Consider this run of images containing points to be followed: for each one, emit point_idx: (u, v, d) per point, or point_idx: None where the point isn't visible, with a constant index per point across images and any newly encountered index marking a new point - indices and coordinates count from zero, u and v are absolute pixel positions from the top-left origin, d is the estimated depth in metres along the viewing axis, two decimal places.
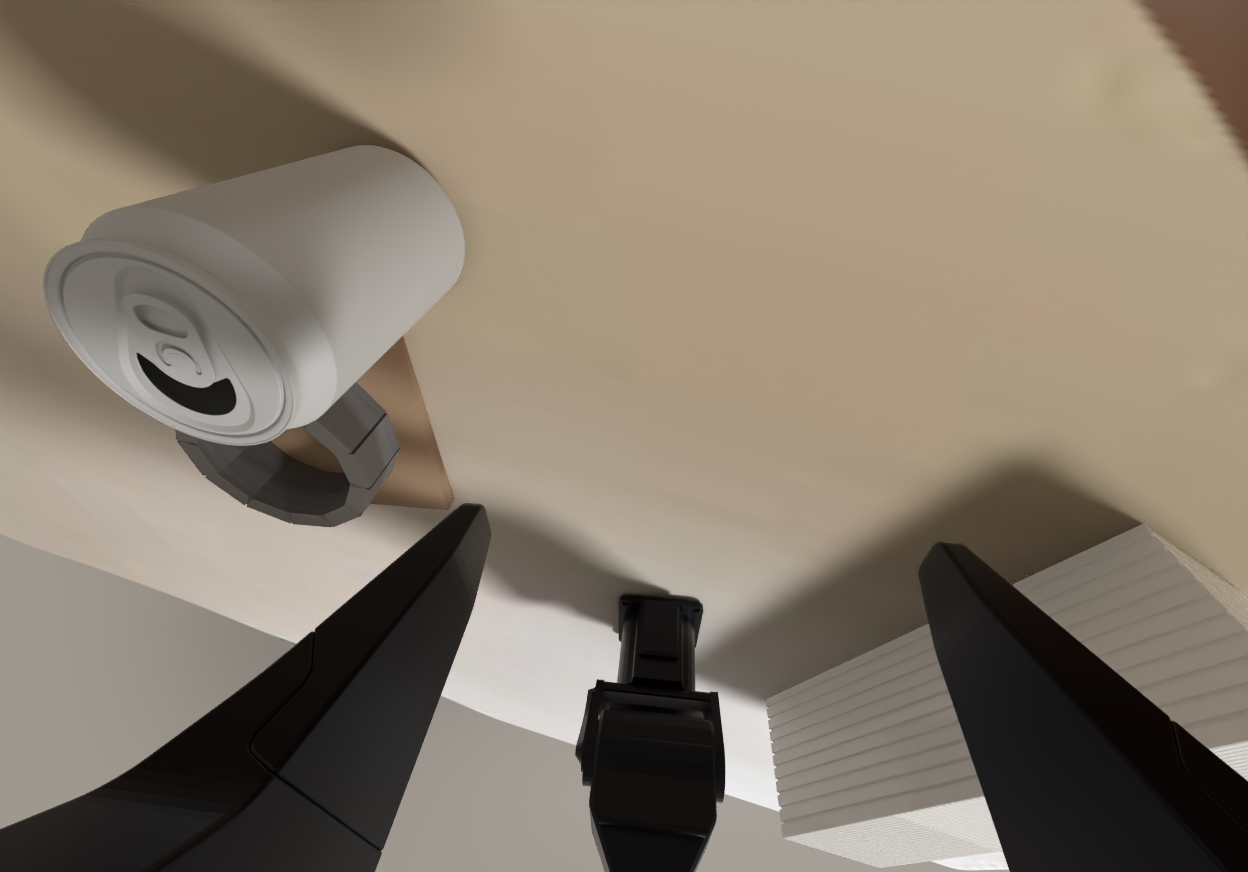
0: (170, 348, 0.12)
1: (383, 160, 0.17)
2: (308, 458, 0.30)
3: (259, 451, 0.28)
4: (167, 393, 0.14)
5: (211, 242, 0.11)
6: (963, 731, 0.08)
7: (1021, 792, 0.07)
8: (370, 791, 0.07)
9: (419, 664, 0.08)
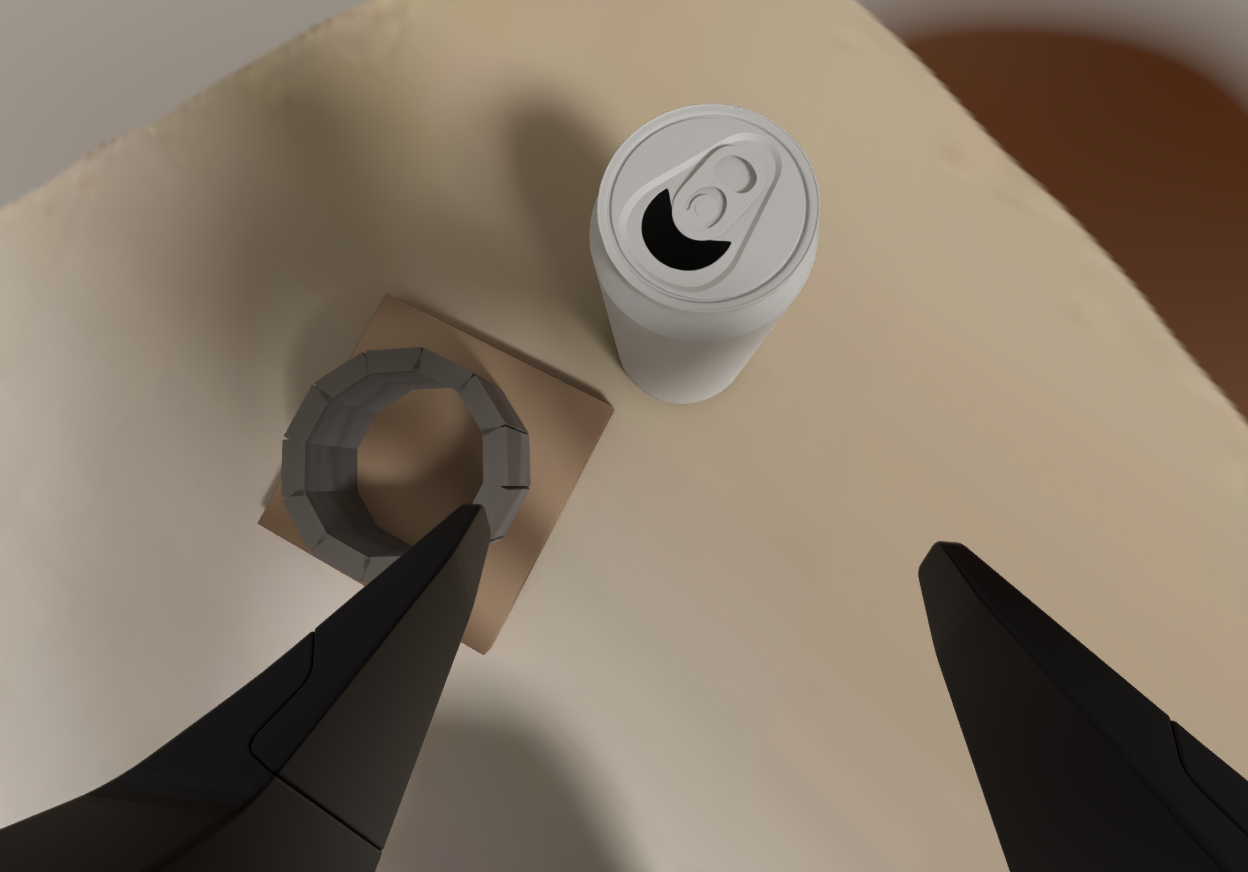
0: (708, 197, 0.12)
1: None
2: (376, 501, 0.23)
3: (344, 459, 0.22)
4: (594, 250, 0.13)
5: None
6: (963, 731, 0.08)
7: (1021, 792, 0.07)
8: (370, 791, 0.07)
9: (419, 664, 0.08)
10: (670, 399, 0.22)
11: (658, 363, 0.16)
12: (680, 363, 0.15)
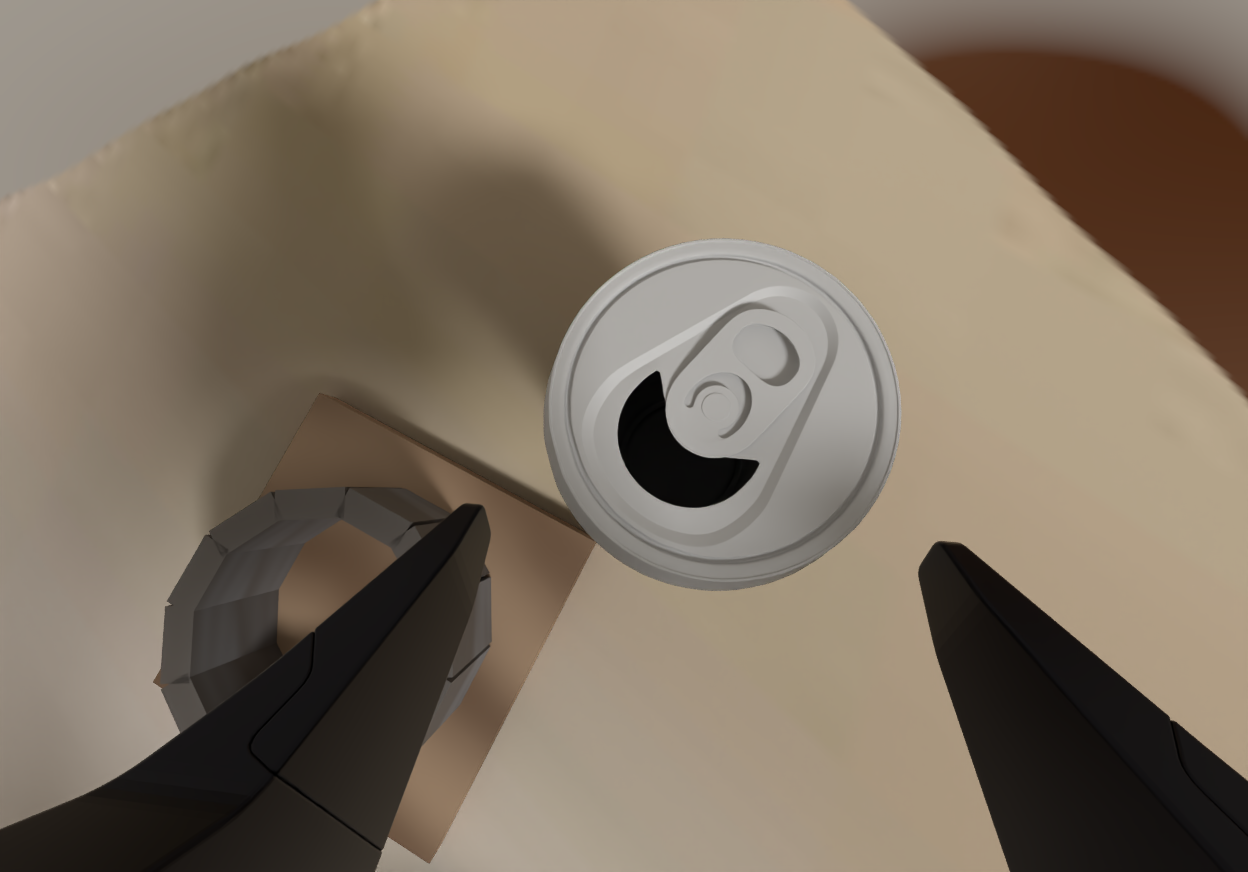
0: (722, 388, 0.08)
1: None
2: None
3: (257, 610, 0.18)
4: (549, 445, 0.09)
5: None
6: (963, 732, 0.08)
7: (1021, 792, 0.07)
8: (370, 791, 0.07)
9: (419, 664, 0.08)
10: None
11: None
12: None
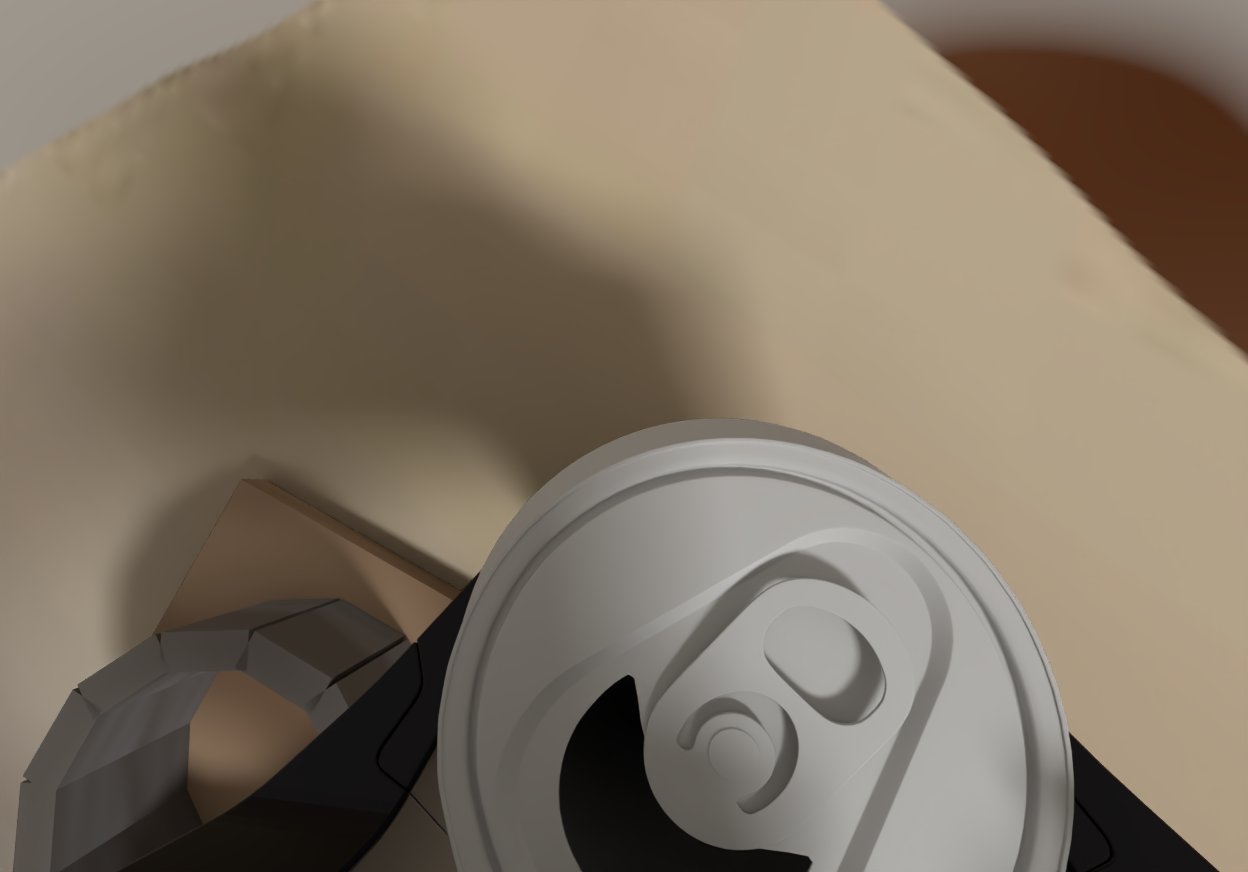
0: (744, 717, 0.04)
1: None
2: (215, 808, 0.15)
3: (158, 758, 0.14)
4: None
5: None
6: None
7: None
8: None
9: None
10: None
11: (629, 791, 0.08)
12: (673, 834, 0.08)
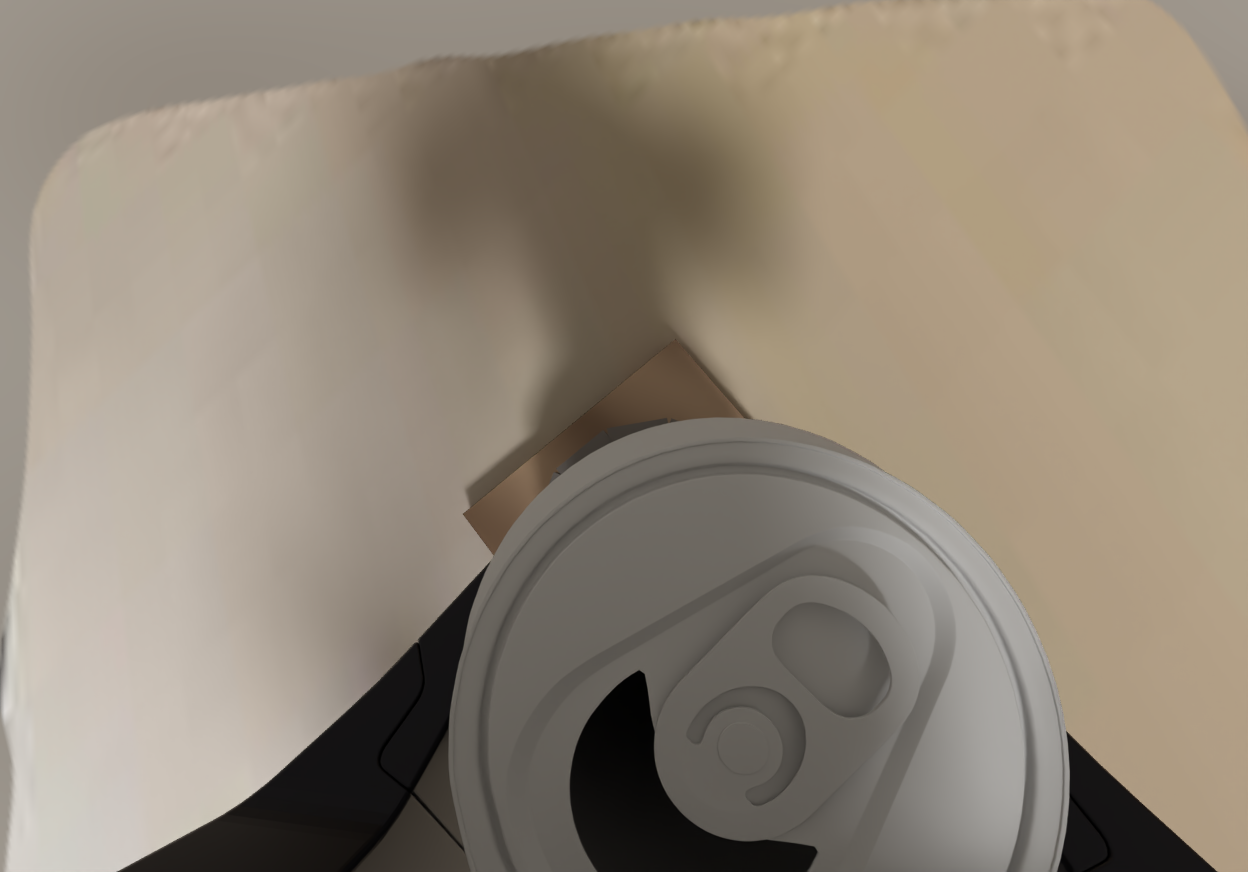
0: (753, 712, 0.04)
1: None
2: None
3: None
4: None
5: None
6: None
7: None
8: None
9: None
10: None
11: (628, 784, 0.08)
12: (671, 827, 0.08)
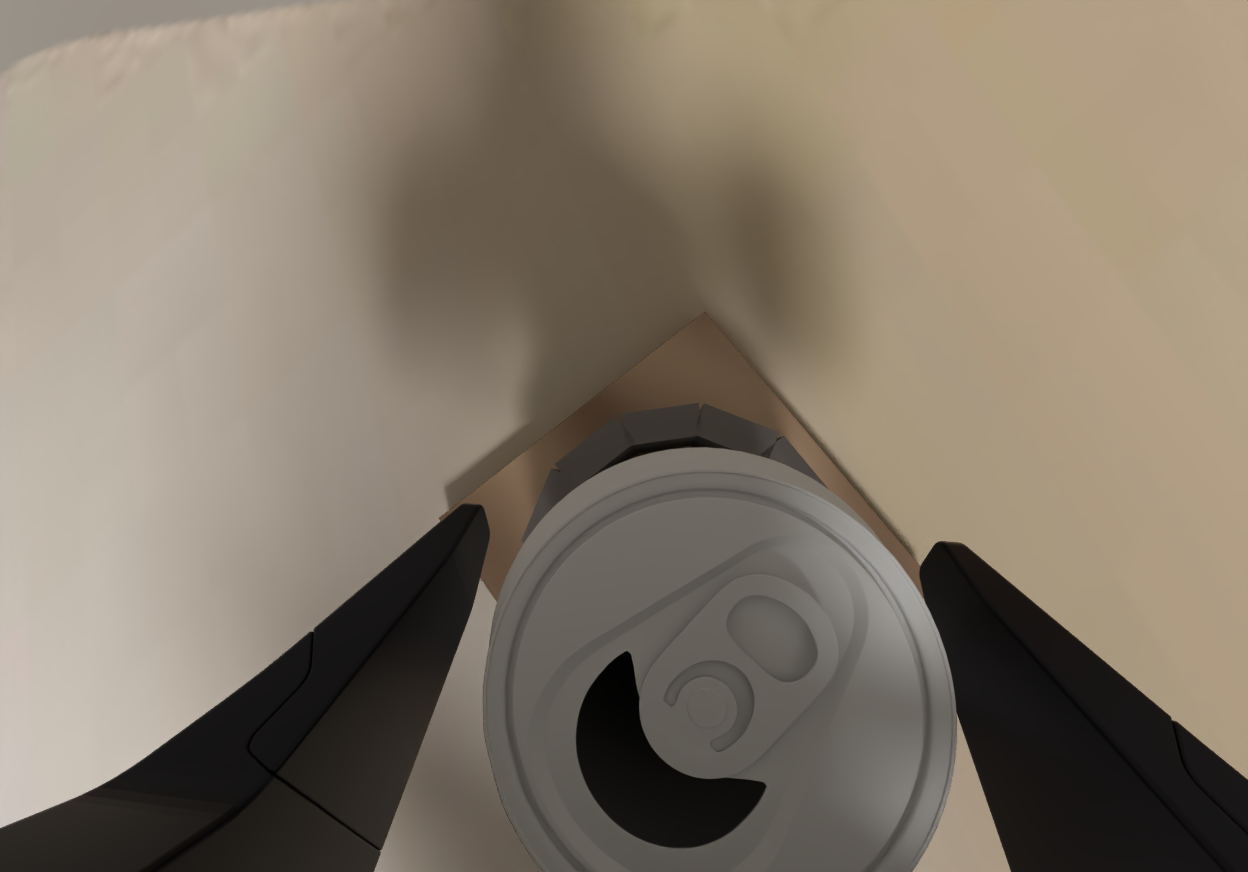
0: (713, 680, 0.06)
1: None
2: None
3: None
4: None
5: None
6: (964, 732, 0.08)
7: (1023, 792, 0.07)
8: (369, 791, 0.07)
9: (418, 664, 0.08)
10: None
11: (632, 759, 0.10)
12: (668, 791, 0.09)
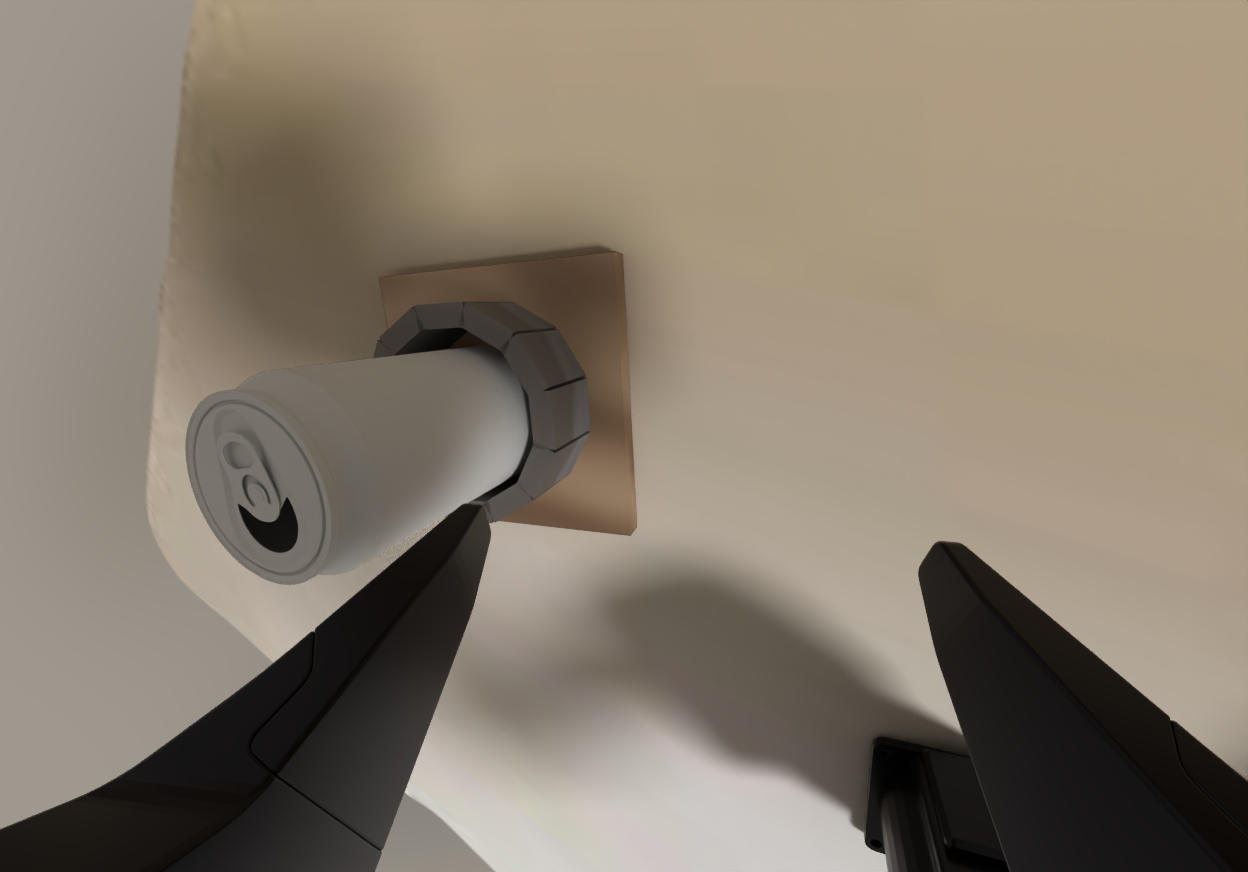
0: (250, 485, 0.13)
1: None
2: None
3: None
4: None
5: (271, 378, 0.13)
6: (963, 731, 0.08)
7: (1021, 792, 0.07)
8: (370, 791, 0.07)
9: (419, 664, 0.08)
10: None
11: (430, 524, 0.17)
12: (427, 522, 0.16)
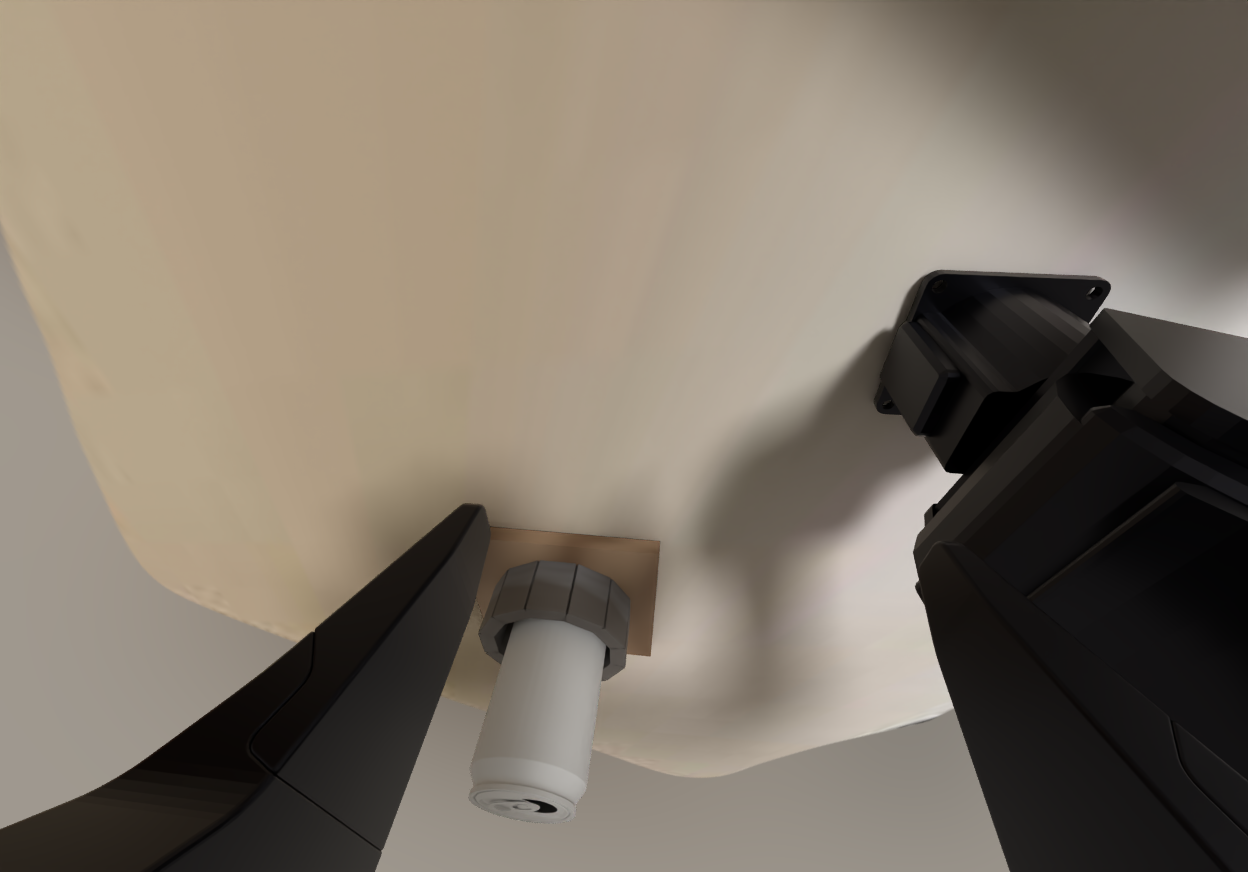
0: (519, 807, 0.25)
1: None
2: None
3: None
4: None
5: (471, 776, 0.25)
6: (963, 732, 0.08)
7: (1021, 792, 0.07)
8: (370, 791, 0.07)
9: (419, 664, 0.08)
10: None
11: (586, 711, 0.27)
12: (575, 719, 0.26)
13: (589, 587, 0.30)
